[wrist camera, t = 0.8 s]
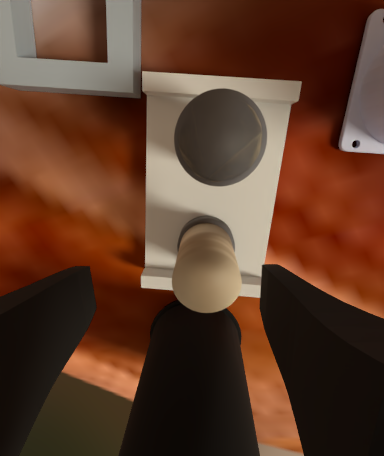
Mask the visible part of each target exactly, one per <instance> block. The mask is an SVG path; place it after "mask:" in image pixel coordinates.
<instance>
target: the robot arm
mask: <svg viewBox="0 0 384 456" xmlns="http://www.w3.org/2000/svg"><path fill="white" fill-rule="evenodd" d="M383 18H384V9H377V10H376V11H374V12H373V13H372V14H370V16H369V17H368V19H367V22H366V26H365V31H364V35H363V39H362V44H361V48H360V52H359V57H358V61H357V65H356V70H355V74H354V78H353V83H352V87H351V91H350V96H349V100H348V104H347V109H346V113H345V117H344V122H343V126H342V130H341V135H340V139H339V144H338V146H339V149H340V150H342V151H348V152H362V153H377V154H384V23H383ZM354 141H356V142H357V145H356V147H354V148H353V147H352V143H353V142H354ZM96 308H97V307H96V301H95V295H94V289H93V284H92V278H91V272H90V266H75V267H71V268H68V269H65V270H63V271H60V272H58V273H55V274H53V275H51V276H49V277H46V278H44V279H42V280H39V281H37V282H35V283H33V284H30V285H28V286H26V287H23V288H21V289H18V290H16V291H13V292H11V293H8V294H6V295H4V296H1V297H0V456H19V455H20V452H21V450H22V448H23V446H24V444H25V442H26V439H27V437H28V435H29V433H30V431H31V429H32V427H33V424H34V422H35V420H36V418H37V416H38V414H39V412H40V409H41V408H42V406H43V404H44V402H45V400H46V398H47V396H48V394H49V392H50V390H51V388H52V386H53V384H54V383H55V381H56V379H57V377H58V376H59V374H60V373H61V371H62V370H63V368H64V366H65V365H66V363H67V362H68V360H69V358H70V357H71V355H72V354H73V352H74V350H75V349H76V347H77V346H78V344H79V342H80V341H81V339H82V337H83V336H84V334H85V332H86V331H87V329H88V327H89V325H90V323H91V320H92V318H93V316H94V313H95V311H96ZM260 312H261V316H262V321H263V325H264V329H265V332H266V335H267V338H268V340H269V343H270V346H271V348H272V351H273V354H274V356H275V359H276V362H277V364H278V367H279V370H280V372H281V375H282V378H283V380H284V383H285V386H286V389H287V392H288V395H289V399H290V403H291V406H292V410H293V414H294V418H295V421H296V425H297V429H298V433H299V437H300V441H301V445H302V449H303V453H304V456H384V319H383V318H380V317H378V316H375V315H373V314H370V313H368V312H365V311H363V310H361V309H358V308H356V307H354V306H352V305H349V304H347V303H345V302H343V301H341V300H339V299H337V298H335V297H333V296H331V295H329V294H327V293H325V292H324V291H322V290H320V289H318V288H316V287H315V286H313V285H311V284H310V283H308V282H306V281H305V280H303V279H301V278H300V277H298V276H296V275H295V274H293V273H292V272H290V271H288V270H287V269H285V268H283V267H282V266H280V265H278V264H266V265H262V274H261V292H260Z"/></svg>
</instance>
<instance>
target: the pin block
mask: <svg viewBox="0 0 384 456" xmlns="http://www.w3.org/2000/svg"><path fill="white" fill-rule="evenodd" d="M106 18H107V51H108V63H100V62H84V61H69V60H53V59H37V56H36V47H35V37H34V28H33V18H32V8H31V0H0V85H2V86H6V87H9V88H13V89H16V90H21V91H36V92H51V93H66V94H81V95H97V96H112V97H127V98H141V0H106Z"/></svg>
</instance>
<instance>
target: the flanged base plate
mask: <svg viewBox="0 0 384 456" xmlns="http://www.w3.org/2000/svg"><path fill="white" fill-rule="evenodd" d="M301 84H302V81H288V80H272V79H256V78H240V77H225V76H209V75H193V74H178V73H162V72H146V71H142V91H143V92H144V93H145V94H146V95H147V137H146V226H145V268H144V271H143V273H142V275H141V288H152V289H164V290H173V288H172V275H173V271H174V267H175V263H176V259H177V255H178V250H177V244H178V239H179V236H180V232H181V230H182V228H183V227H184V226H185V224H186V223H187V222H189V221H190V220H192V219H193V218H196V217H199V216H213V217H216V218H219V219H220V220H222V221H223V222H225V223H226V224H227V225H228V227H229V228H230V230H231V232H232V235H233V238H234V242H235V252H234V253H235V256H236V260H237V263H238V267H239V271H240V274H241V279H242V285H241V290H240V293H239V295H238V296H247V297H259V298H260V292H261V274H262V265H264V262H265V256H266V250H267V244H268V238H269V233H270V227H271V221H272V215H273V209H274V203H275V197H276V191H277V185H278V179H279V173H280V168H281V162H282V156H283V150H284V144H285V138H286V132H287V126H288V120H289V114H290V108H291V104H293V103H295V102H298V101H299V95H300V90H301ZM219 88H226V89H232V90H235V91H238V92H241V93H243V94H244V95H246V96H248V97H249V98H250V99H251V100H252V101H254V103H255V104H256V105H257V106H258V108H259V109H260V111H261V112H262V115H263V117H264V120H265V123H266V128H267V144H266V149H265V152H264V155H263V157H262V159H261V161H260V163H259V165H258V166H257V167H256V169H255V170H254V171H253V172H252V173H251V174H250V175H249V176H248V177H246V178H245V179H243V180H241V181H240V182H238V183H235V184H232V185H228V186H222V187H220V186H209V185H206V184H203V183H201V182H199V181H197V180H195V179H194V178H192V177H191V176H190V175H189V174H188V173H187V172H186V171H185V170H184V168H183V167H182V165H181V164H180V162H179V160H178V157H177V155H176V151H175V146H174V133H175V127H176V123H177V121H178V118H179V116H180V114H181V112H182V111H183V109H184V108H185V107H186V105H187V104H188V103H189V102H190V101H191V100H192V99H194V98H195V97H196V96H198V95H200V94H201V93H204V92H206V91H209V90H212V89H219Z"/></svg>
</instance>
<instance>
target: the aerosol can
mask: <svg viewBox="0 0 384 456" xmlns="http://www.w3.org/2000/svg"><path fill="white" fill-rule="evenodd" d="M150 339H151V340H150V344H149V348H148V351H147V355H146V358H145V362H144V366H143V369H142V373H141V376H140V380H139V384H138V387H137V391H136V394H135V398H134V402H133V405H132V409H131V413H130V416H129V420H128V424H127V427H126V431H125V434H124V438H123V441H122V445H121V449H120V452H119V456H260V454H259V448H258V443H257V437H256V431H255V426H254V420H253V415H252V409H251V403H250V398H249V392H248V387H247V381H246V375H245V370H244V364H243V359H242V353H241V347H240V345H241V330H240V327H239V324H238V322H237V320H236V319H235V317H234V316H233V315H232V313H231V312H229V311H228V310H227V309H226V308H225V309H223V310H221V311H218V312H213V313H201V312H197V311H193V310H191V309H189V308H187V307H186V306H184V305H183V304H182V303H181V302H180V301H179V300H178V301H175V302H173V303H171V304H169V305H167V306H166V307H165V308H163V309H162V310H161V311H160V312H159V313H158V315H157V316H156V317H155V319H154V321H153V323H152V326H151V331H150Z"/></svg>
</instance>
